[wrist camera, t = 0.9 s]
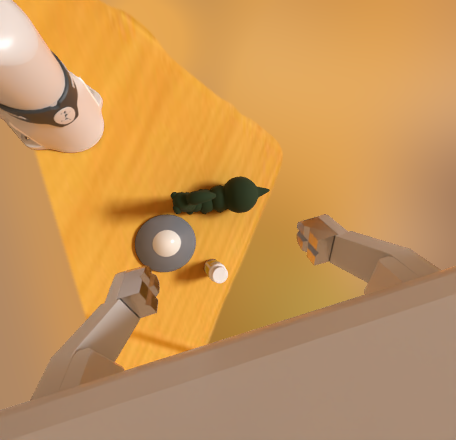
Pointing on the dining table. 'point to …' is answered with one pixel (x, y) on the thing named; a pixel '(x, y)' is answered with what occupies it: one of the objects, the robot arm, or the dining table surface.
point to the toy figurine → (220, 197)
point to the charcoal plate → (165, 243)
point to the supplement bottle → (215, 271)
